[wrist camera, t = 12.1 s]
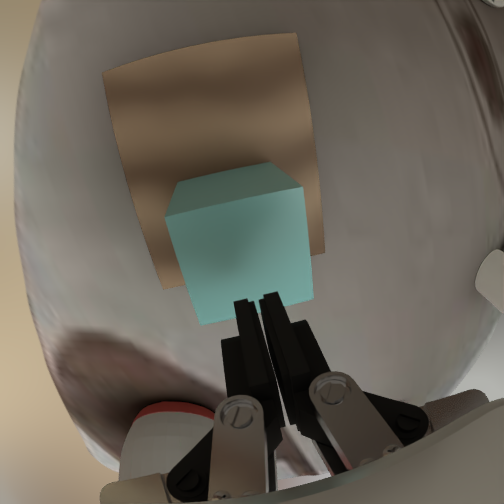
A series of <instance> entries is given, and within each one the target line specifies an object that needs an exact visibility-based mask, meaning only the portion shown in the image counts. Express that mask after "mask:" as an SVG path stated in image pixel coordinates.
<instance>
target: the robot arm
mask: <svg viewBox="0 0 504 504" xmlns="http://www.w3.org/2000/svg"><path fill="white" fill-rule="evenodd" d="M482 1H484V2H485V3H486V4H488V5H490V6H492V7H504V0H482ZM233 303H234V309H235V314H236V320H237V325H238V331H239V336H236V337H232V338H227V339H222V340H221V347H222V356H223V365H224V373H225V381H226V389H227V397H228V398H227V399H225V400H224V401H223V402H221V403H220V404H219V406H218V407H217V409H216V412H215V415H214V427H213V428H212V429H211V430H210V431H209V432H208V433H207V434H206V435H205V436H204V437H203V438H202V439H201V440H200V441H199V442H198V443H197V444H196V445H195V446H194V448H193V449H192V450H191V451H190V452H189V453H188V454H187V455H186V456H185V457H184V458H182V459H181V460H180V461H179V462H178V463H177V464H176V465H175V466H174V467H173V468H172V469H171V471H170V472H168V473H164V474H161V473H155V474H151V475H147V476H142V477H138V478H133V479H128V480H123V481H117V482H112V483H109V484H107V485H106V486H104V487H103V488H102V490H101V492H100V504H504V398H501V399H497V400H494V401H491V402H489V400H488V398H487V396H486V395H485V393H483V392H482V391H480V390H476V389H471V390H467V391H464V392H461V393H458V394H455V395H452V396H448V397H445V398H442V399H438V400H435V401H431V402H427V403H425V405H424V406H421V407H417V406H415V405H411V404H407V403H404V402H400V401H396V400H392V399H389V398H385V397H381V396H378V395H374V394H371V393H368V392H364V391H362V390H361V389H360V387H359V386H358V385H357V384H356V382H355V381H354V380H353V379H352V378H351V377H350V376H349V375H347V374H345V373H342V372H337V371H334V372H331V371H330V368H329V366H328V364H327V362H326V360H325V358H324V356H323V354H322V351H321V349H320V347H319V345H318V343H317V341H316V339H315V337H314V335H313V332H312V330H311V328H310V326H309V324H308V322H307V321H306V320H302V321H298V322H294V323H290V320H289V318H288V315H287V313H286V310H285V308H284V305H283V303H282V301H281V298H280V296H279V293H278V291H276V292H272V293H268V294H263V299H259V305H260V310H261V315H262V320H263V325H264V330H265V335H266V340H267V344H268V349H269V352H268V349H267V345H266V342H265V338H264V334H263V331H262V327H261V324H260V320H259V317H258V313H257V310H256V306H255V302H254V301H251V302H248V298H246V299H242V300H238V301H233ZM269 353H270V356H269ZM270 357H271V359H270ZM271 361H272V363H271ZM272 364H273V366H272ZM273 368H274V370H273ZM274 371H275V373H274ZM275 375H276V377H275ZM276 378H277V381H276ZM277 382H278V385H279V388H280V392H281V395H282V399H283V402H284V406H285V409H286V413H287V416H288V419H289V423H290V425H293V424H296V426H297V429H298V431H300V432H301V435H303V436H306V437H308V438H311V439H312V442H313V444H314V446H315V448H316V449H317V451H318V453H319V455H320V457H321V458H322V460H323V462H324V464H325V465H326V467H327V469H328V471H329V472H330V474H331V477H328V478H325V479H322V480H318V481H315V482H311V483H308V484H304V485H300V486H296V487H292V488H288V489H284V490H279V491H278V485H277V466H276V451H275V449H276V448H277V446H278V445H279V444H280V442H281V441H282V440H283V438H282V434H281V430H280V428H282V427H286V426H285V421H284V416H283V411H282V406H281V401H280V396H279V390H278V386H277Z"/></svg>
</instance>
